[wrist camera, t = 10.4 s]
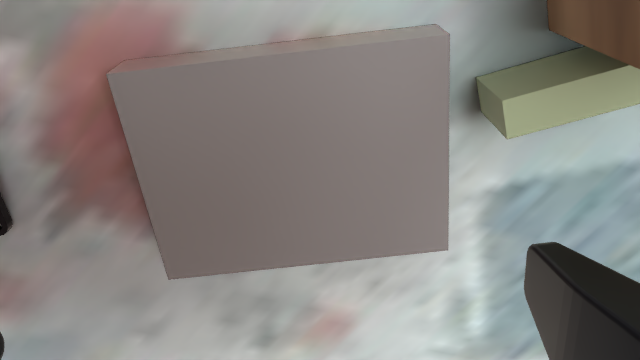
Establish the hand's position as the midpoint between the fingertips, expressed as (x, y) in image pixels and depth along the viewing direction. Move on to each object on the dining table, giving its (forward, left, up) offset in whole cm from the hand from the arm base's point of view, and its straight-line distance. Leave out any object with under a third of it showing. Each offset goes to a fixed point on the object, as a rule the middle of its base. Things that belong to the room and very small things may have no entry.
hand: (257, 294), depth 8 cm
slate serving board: (0, -3, -13) cm, 13 cm away
